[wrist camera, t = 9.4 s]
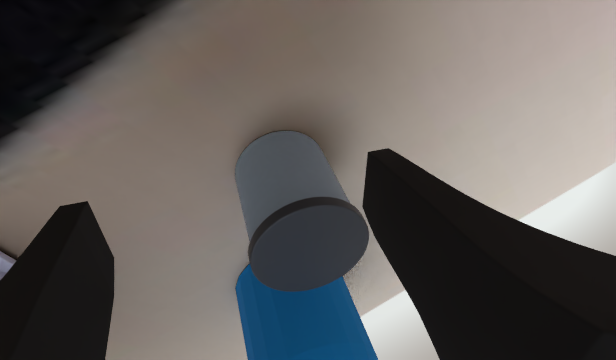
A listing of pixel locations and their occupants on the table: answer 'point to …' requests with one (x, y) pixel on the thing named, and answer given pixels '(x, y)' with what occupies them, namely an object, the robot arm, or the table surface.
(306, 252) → the plastic tub
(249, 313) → the bottle
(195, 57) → the table surface
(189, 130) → the table surface
